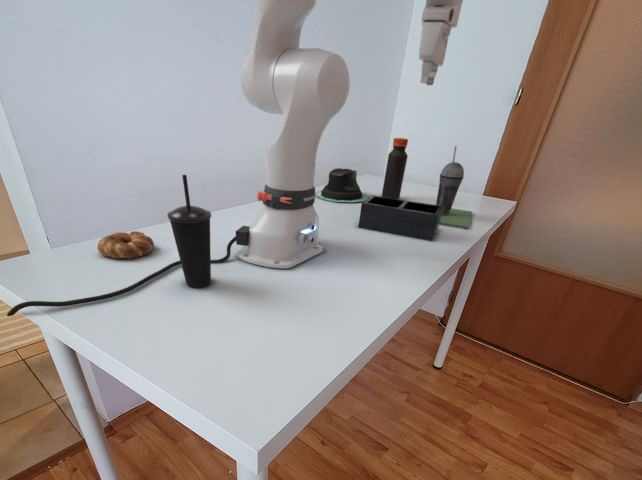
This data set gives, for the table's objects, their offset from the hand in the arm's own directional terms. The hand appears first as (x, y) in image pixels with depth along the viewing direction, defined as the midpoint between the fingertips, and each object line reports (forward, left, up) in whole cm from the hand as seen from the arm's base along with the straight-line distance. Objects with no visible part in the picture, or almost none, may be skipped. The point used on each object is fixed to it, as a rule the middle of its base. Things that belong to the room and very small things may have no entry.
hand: (426, 84), depth 100 cm
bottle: (+21, +8, -36) cm, 42 cm away
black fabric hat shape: (+12, +25, -36) cm, 45 cm away
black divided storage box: (-15, -3, -35) cm, 39 cm away
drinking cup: (-74, +25, -36) cm, 86 cm away
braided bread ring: (-69, +49, -36) cm, 92 cm away
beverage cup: (+7, -12, -35) cm, 37 cm away
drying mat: (+7, -13, -35) cm, 38 cm away
